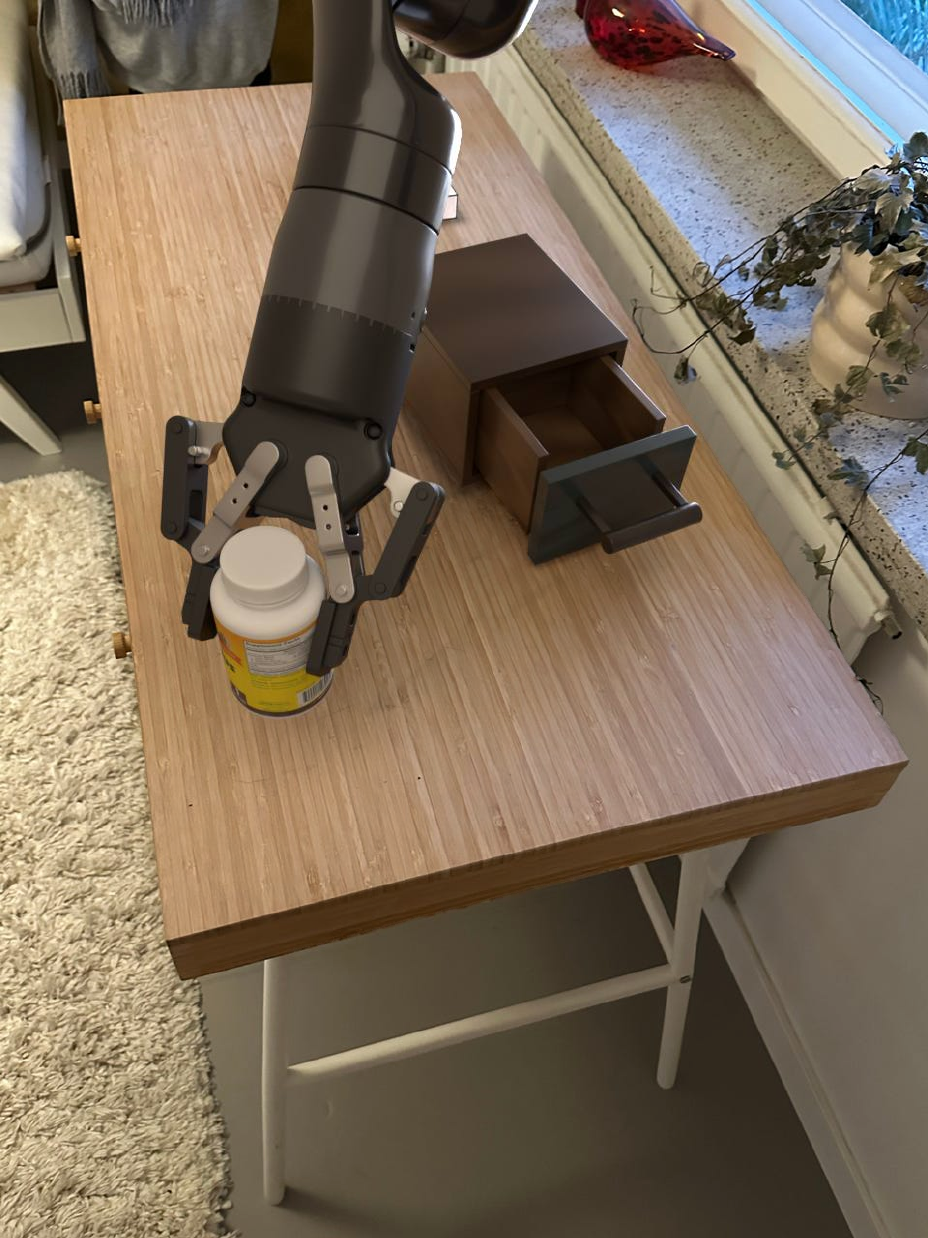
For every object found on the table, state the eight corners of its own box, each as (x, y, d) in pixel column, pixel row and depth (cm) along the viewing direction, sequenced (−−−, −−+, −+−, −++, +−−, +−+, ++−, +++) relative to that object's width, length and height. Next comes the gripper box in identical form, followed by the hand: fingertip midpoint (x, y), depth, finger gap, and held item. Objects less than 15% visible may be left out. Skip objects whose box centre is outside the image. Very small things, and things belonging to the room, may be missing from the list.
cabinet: (605, 441, 79) (628, 338, 72) (461, 487, 75) (470, 383, 68) (514, 335, 87) (527, 232, 80) (380, 371, 83) (379, 266, 75)
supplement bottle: (235, 640, 56) (208, 510, 48) (336, 640, 57) (327, 511, 49) (224, 726, 53) (193, 601, 45) (332, 725, 53) (321, 602, 45)
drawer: (709, 562, 71) (740, 481, 65) (569, 615, 67) (588, 534, 61) (574, 404, 80) (590, 320, 74) (446, 443, 77) (451, 358, 71)
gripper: (166, 258, 45) (87, 623, 47) (474, 333, 43) (376, 711, 45) (233, 297, 53) (162, 610, 55) (499, 362, 50) (414, 686, 53)
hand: (260, 654), depth 50 cm, fingers closed on supplement bottle, 5 cm apart
